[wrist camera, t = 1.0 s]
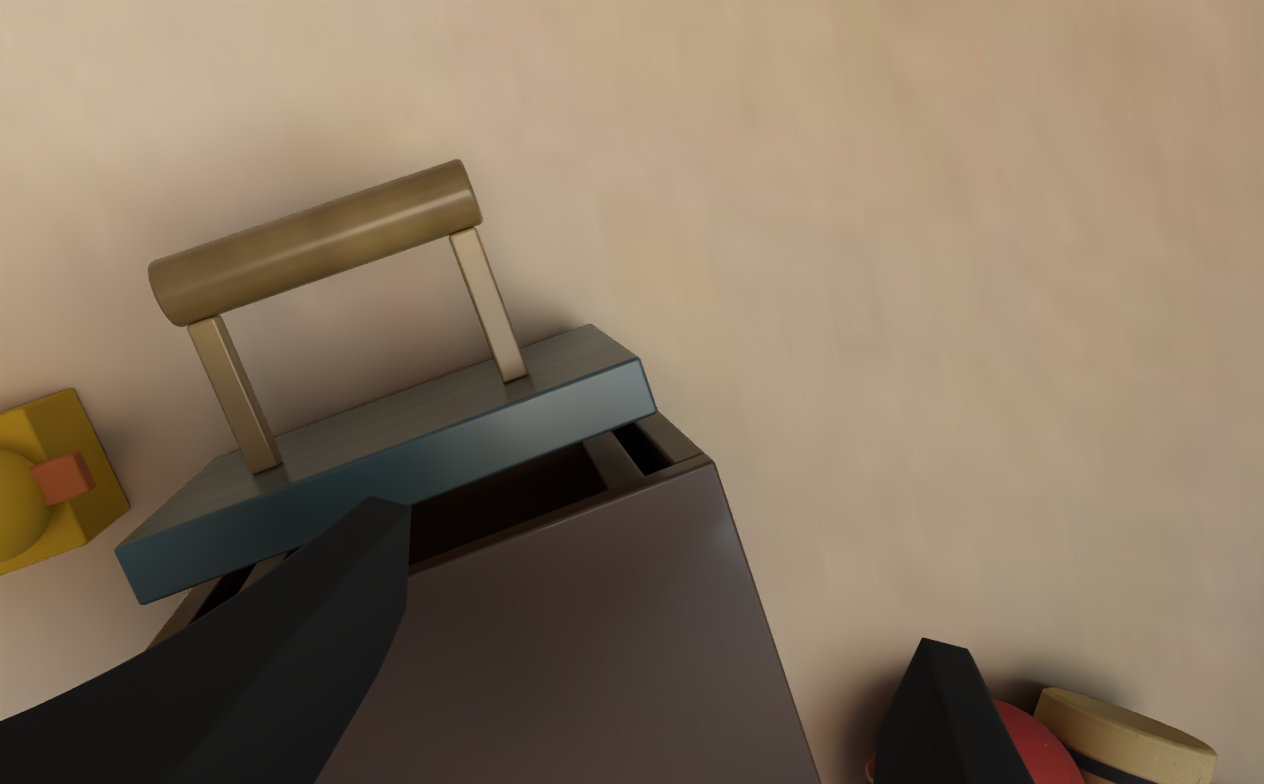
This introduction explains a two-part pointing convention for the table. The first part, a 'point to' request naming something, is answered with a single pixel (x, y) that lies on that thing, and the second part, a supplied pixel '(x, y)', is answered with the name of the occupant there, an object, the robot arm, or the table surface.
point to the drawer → (382, 403)
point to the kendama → (1099, 744)
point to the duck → (52, 481)
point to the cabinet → (580, 648)
